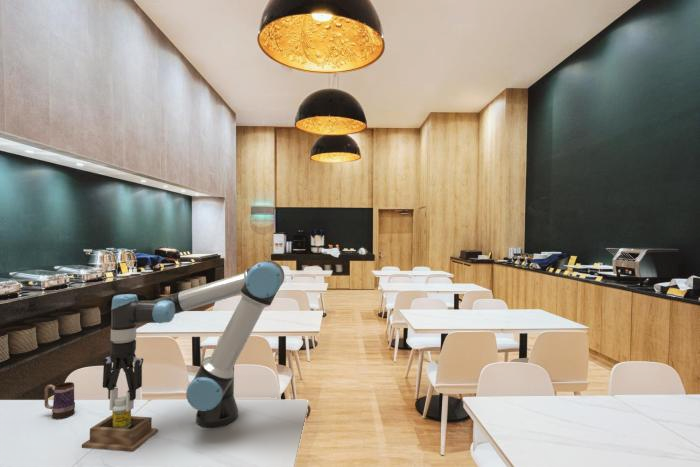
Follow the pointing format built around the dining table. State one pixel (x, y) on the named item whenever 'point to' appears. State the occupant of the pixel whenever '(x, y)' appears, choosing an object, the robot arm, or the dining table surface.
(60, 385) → the mug
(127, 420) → the supplement bottle
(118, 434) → the walnut caddy
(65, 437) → the dining table surface
